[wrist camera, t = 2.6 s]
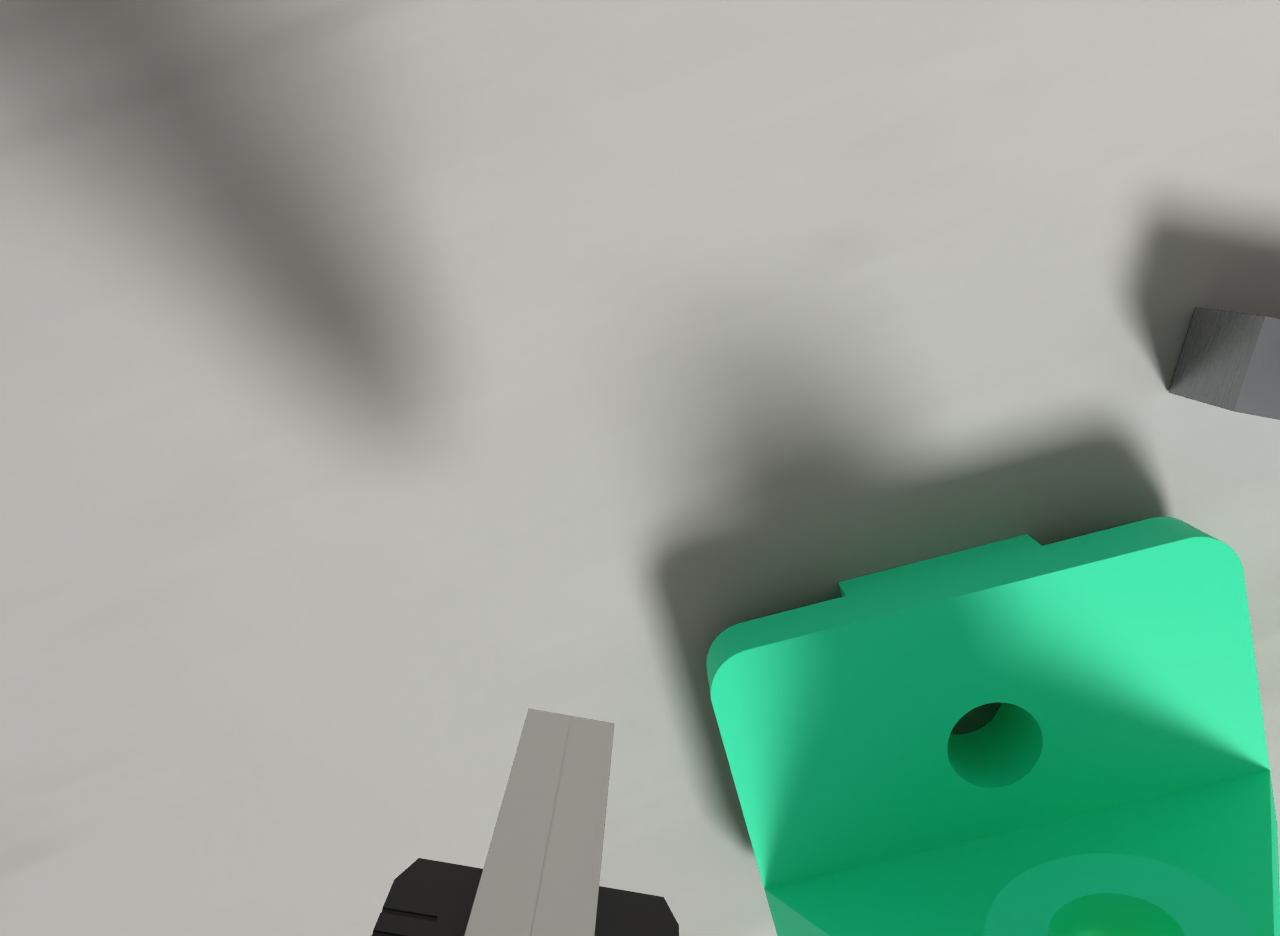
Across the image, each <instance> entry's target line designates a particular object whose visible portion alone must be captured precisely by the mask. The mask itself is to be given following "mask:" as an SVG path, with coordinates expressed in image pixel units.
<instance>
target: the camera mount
mask: <svg viewBox="0 0 1280 936" xmlns="http://www.w3.org/2000/svg"><path fill="white" fill-rule="evenodd" d="M838 583H839V587H840V591H841V595H842V597H840V598H836V599H832V600H828V601H824V602H820V603H816V604H812V605H808V606H804V607H800V608H796V609H793V610H789V611H785V612H781V613H777V614H773V615H769V616H765V617H761V618H757V619H753V620H749V621H746V622H742V623H738V624H735V625H733V626H731V627H729V628H727V629H726V630H724V631H723V632H722V633H720V634H719V635H718V636H717V637H716V639H715V640H714V641H713V643H712V644H711V646H710V648H709V651H708V654H707V660H706V668H707V675H708V682H709V689H710V695H711V701H712V705H713V709H714V713H715V716H716V720H717V723H718V727H719V730H720V734H721V737H722V741H723V744H724V748H725V751H726V755H727V759H728V762H729V766H730V769H731V773H732V776H733V780H734V783H735V787H736V790H737V794H738V797H739V801H740V804H741V808H742V812H743V815H744V819H745V822H746V826H747V829H748V833H749V836H750V840H751V843H752V847H753V850H754V854H755V857H756V861H757V865H758V868H759V872H760V875H761V879H762V882H763V886H764V889H765V893H766V896H767V900H768V903H769V907H770V911H771V914H772V918H773V921H774V925H775V928H776V932H777V935H778V936H1280V893H1279V864H1278V836H1277V821H1276V814H1275V806H1274V798H1273V791H1272V783H1271V776H1270V768H1269V761H1268V753H1267V746H1266V738H1265V731H1264V723H1263V716H1262V708H1261V700H1260V693H1259V685H1258V678H1257V670H1256V663H1255V655H1254V648H1253V640H1252V633H1251V625H1250V618H1249V610H1248V602H1247V595H1246V587H1245V580H1244V572H1243V567H1242V564H1241V561H1240V559H1239V557H1238V556H1237V554H1236V553H1235V552H1234V550H1232V549H1231V548H1230V547H1229V546H1228V545H1227V544H1225V543H1223V542H1221V541H1219V540H1218V539H1216V538H1214V537H1212V536H1210V535H1208V534H1206V533H1204V532H1202V531H1200V530H1198V529H1196V528H1194V527H1193V526H1191V525H1189V524H1187V523H1185V522H1183V521H1181V520H1178V519H1175V518H1171V517H1154V518H1149V519H1145V520H1141V521H1138V522H1134V523H1130V524H1126V525H1122V526H1118V527H1114V528H1110V529H1106V530H1102V531H1098V532H1094V533H1090V534H1087V535H1083V536H1079V537H1075V538H1071V539H1067V540H1063V541H1059V542H1055V543H1051V544H1047V545H1043V546H1042V545H1041V544H1039V543H1038V542H1037V541H1035V540H1034V539H1033V538H1031V537H1030V536H1029V535H1028V534H1025V535H1021V536H1017V537H1013V538H1009V539H1005V540H1001V541H997V542H993V543H989V544H986V545H982V546H978V547H974V548H970V549H966V550H962V551H958V552H954V553H950V554H946V555H943V556H939V557H935V558H931V559H927V560H923V561H919V562H915V563H911V564H907V565H903V566H900V567H896V568H892V569H888V570H884V571H880V572H876V573H872V574H868V575H864V576H861V577H857V578H853V579H849V580H845V581H841V582H838ZM997 702H1001V706H1000V708H999V710H998V712H997V714H996V715H995V716H994V718H993V719H992V720H991V721H990V722H989V723H987V724H986V725H985V726H983V727H982V728H980V729H978V730H976V731H973V732H970V733H966V734H951V731H952V729H953V728H954V726H955V725H956V723H957V722H958V721H959V720H960V719H961V718H962V717H963V716H964V715H965V714H966V713H968V712H969V711H971V710H972V709H974V708H976V707H979V706H981V705H984V704H988V703H997Z"/></svg>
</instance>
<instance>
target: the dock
mask: <svg viewBox="0 0 1280 936" xmlns="http://www.w3.org/2000/svg"><path fill="white" fill-rule="evenodd" d="M1169 393H1172V394H1176V395H1179V396H1183V397H1186V398H1190V399H1193V400H1197V401H1200V402H1203V403H1207V404H1210V405H1214V406H1217V407H1221V408H1224V409H1228V410H1231V411H1235V412H1240V413H1246V414H1251V415H1257V416H1262V417H1268V418H1273V419H1279V420H1280V319H1278V318H1273V317H1268V316H1261V315H1253V314H1244V313H1236V312H1228V311H1220V310H1212V309H1203V308H1195V311H1194V314H1193V317H1192V320H1191V323H1190V327H1189V330H1188V333H1187V336H1186V339H1185V342H1184V346H1183V349H1182V352H1181V355H1180V358H1179V361H1178V365H1177V368H1176V371H1175V374H1174V377H1173V380H1172V383H1171V387H1170V390H1169Z"/></svg>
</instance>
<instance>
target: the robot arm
mask: <svg viewBox="0 0 1280 936" xmlns="http://www.w3.org/2000/svg"><path fill="white" fill-rule="evenodd" d="M613 732H614V723H609V722H603V721H597V720H592V719H586V718H580V717H574V716H569V715H563V714H557V713H551V712H546V711H540V710H534V709H528V713H527V716H526V720H525V723H524V727H523V730H522V734H521V737H520V741H519V744H518V748H517V752H516V755H515V759H514V762H513V766H512V769H511V773H510V776H509V780H508V783H507V787H506V790H505V794H504V798H503V801H502V805H501V808H500V812H499V815H498V819H497V822H496V826H495V829H494V833H493V836H492V840H491V843H490V847H489V851H488V854H487V858H486V861H485V865H484V868H483V869H480V868H474V867H468V866H462V865H456V864H451V863H445V862H439V861H433V860H427V859H421V858H419V859H417V860H416V861H415V862H414V863H413V864H412V865H411V866H410V867H408V868H407V869H406V870H405V871H404V872H403V873H402V874H400V875H399V876H398V877H397V878H396V879H395V880H394V882H393V885H392V887H391V889H390V892H389V894H388V897H387V899H386V901H385V904H384V906H383V910H382V913H380V916H379V918H378V920H377V923H376V925H375V928H374V930H373V934H372V936H679V925H678V923H677V921H676V919H675V918H674V916H673V914H672V912H671V910H670V908H669V906H668V904H667V903H666V901H665V899H664V897H659V896H653V895H648V894H642V893H636V892H630V891H624V890H618V889H612V888H607V887H601V886H599V881H600V870H601V860H602V849H603V839H604V828H605V817H606V807H607V796H608V785H609V775H610V764H611V754H612V743H613Z"/></svg>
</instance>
